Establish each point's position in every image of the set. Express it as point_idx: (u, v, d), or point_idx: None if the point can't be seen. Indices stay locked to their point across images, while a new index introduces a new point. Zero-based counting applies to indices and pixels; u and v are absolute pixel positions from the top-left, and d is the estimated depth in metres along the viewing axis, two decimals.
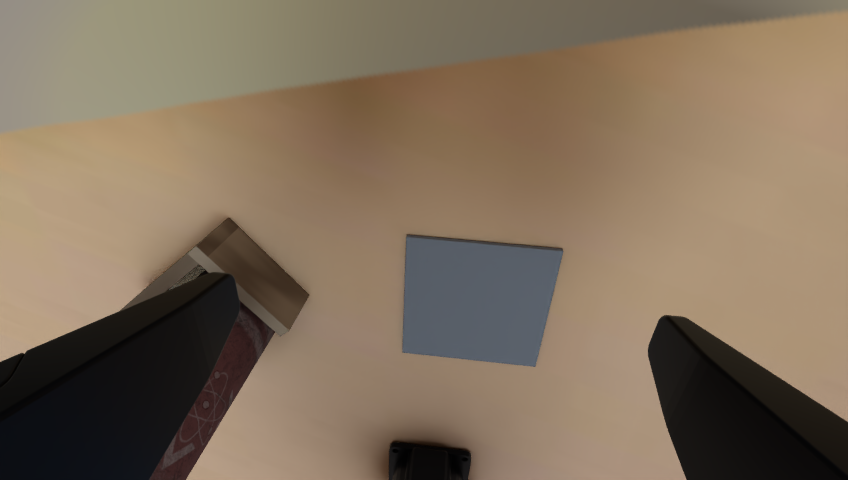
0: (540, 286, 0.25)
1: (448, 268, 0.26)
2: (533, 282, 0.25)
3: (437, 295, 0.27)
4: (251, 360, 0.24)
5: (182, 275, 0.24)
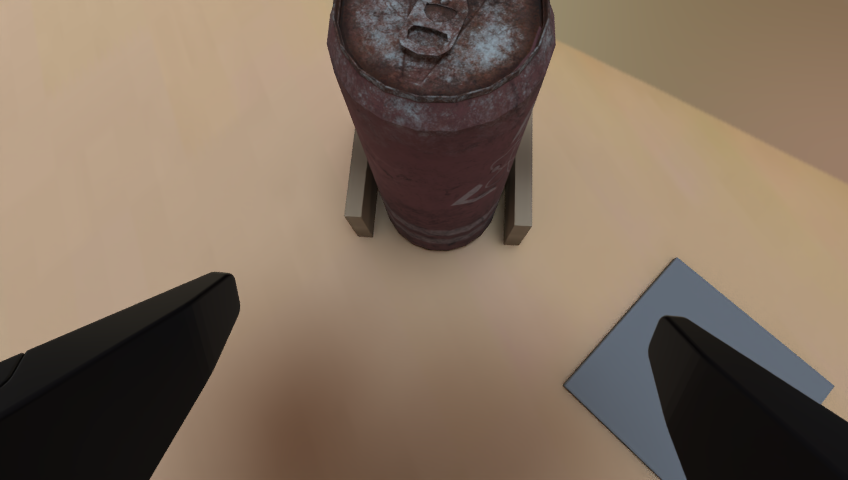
0: None
1: (697, 318, 0.21)
2: None
3: None
4: (489, 208, 0.18)
5: None
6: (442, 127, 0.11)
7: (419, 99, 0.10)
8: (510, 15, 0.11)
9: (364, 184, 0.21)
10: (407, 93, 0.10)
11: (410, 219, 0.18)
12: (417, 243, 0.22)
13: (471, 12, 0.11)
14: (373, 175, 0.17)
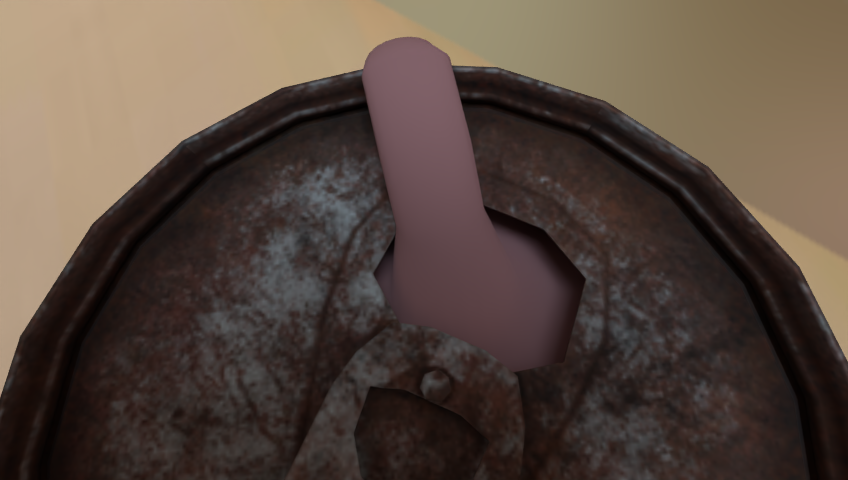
0: None
1: None
2: None
3: None
4: None
5: None
6: None
7: None
8: (691, 471, 0.03)
9: None
10: None
11: None
12: None
13: (537, 446, 0.03)
14: None
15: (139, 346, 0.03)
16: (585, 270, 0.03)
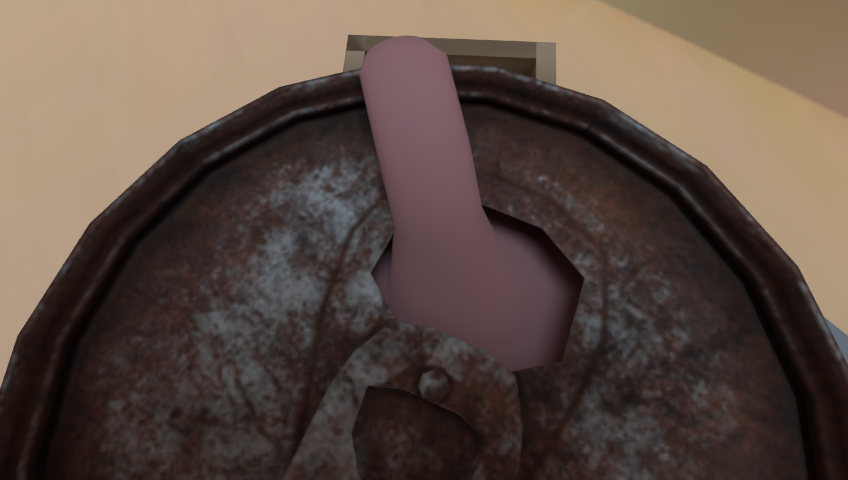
0: None
1: None
2: None
3: None
4: None
5: (501, 55, 0.18)
6: None
7: None
8: (689, 471, 0.03)
9: None
10: None
11: None
12: None
13: (535, 445, 0.03)
14: None
15: (135, 345, 0.03)
16: (584, 269, 0.03)
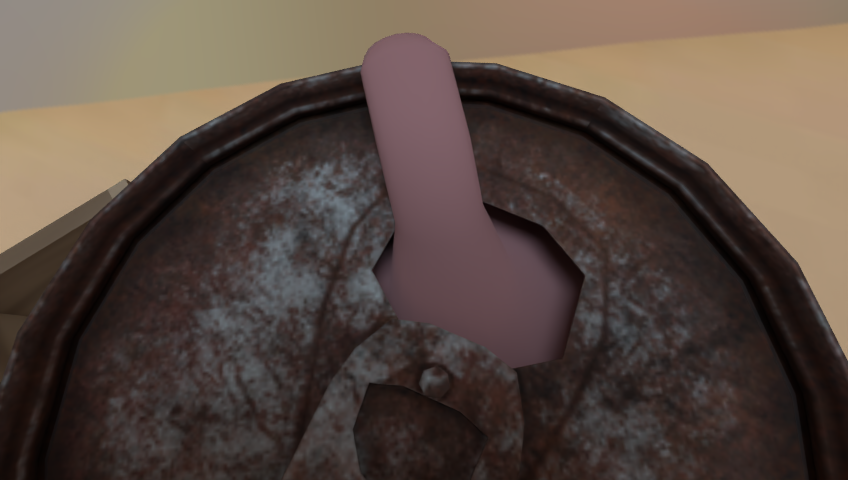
0: None
1: None
2: None
3: None
4: None
5: (82, 222, 0.17)
6: None
7: None
8: (689, 467, 0.03)
9: None
10: None
11: None
12: None
13: (536, 442, 0.03)
14: None
15: (137, 344, 0.03)
16: (585, 266, 0.03)
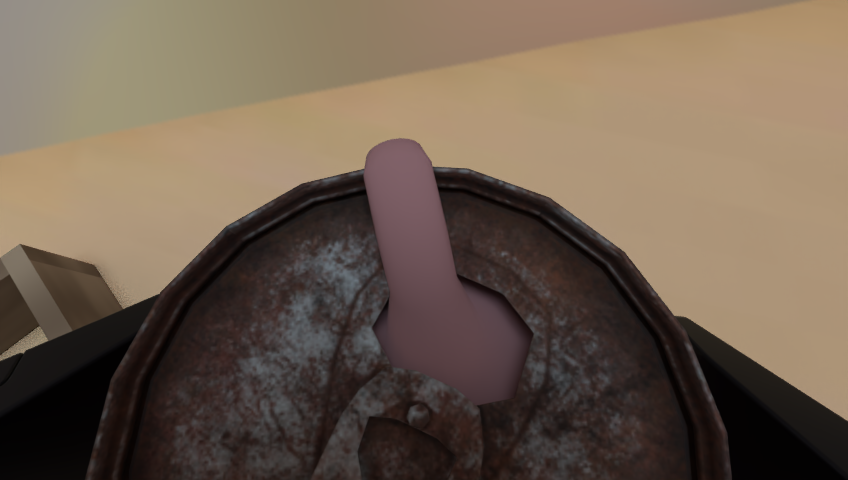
0: None
1: None
2: None
3: None
4: None
5: None
6: None
7: None
8: None
9: None
10: None
11: None
12: None
13: (492, 461, 0.04)
14: None
15: (193, 384, 0.04)
16: (533, 327, 0.04)
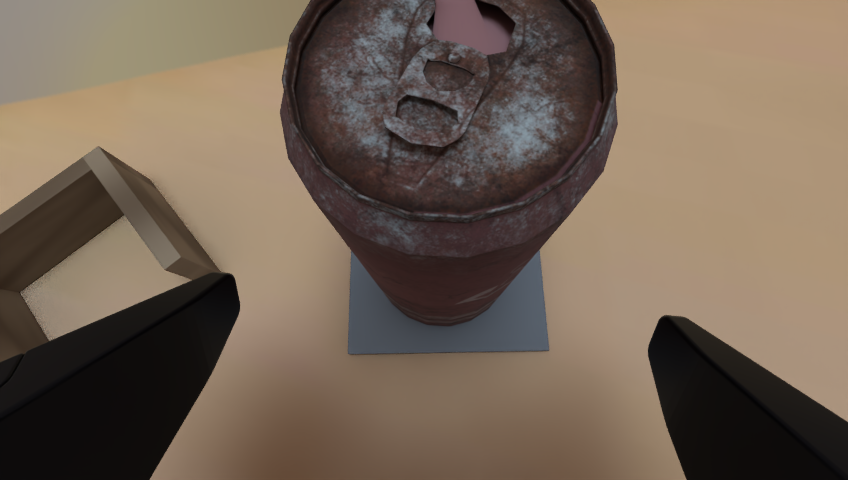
0: None
1: None
2: None
3: None
4: (502, 292, 0.15)
5: (61, 188, 0.18)
6: (446, 252, 0.07)
7: (411, 217, 0.06)
8: (553, 82, 0.07)
9: None
10: (392, 208, 0.06)
11: (402, 304, 0.15)
12: (412, 318, 0.19)
13: (494, 76, 0.07)
14: None
15: (329, 50, 0.07)
16: (516, 19, 0.08)
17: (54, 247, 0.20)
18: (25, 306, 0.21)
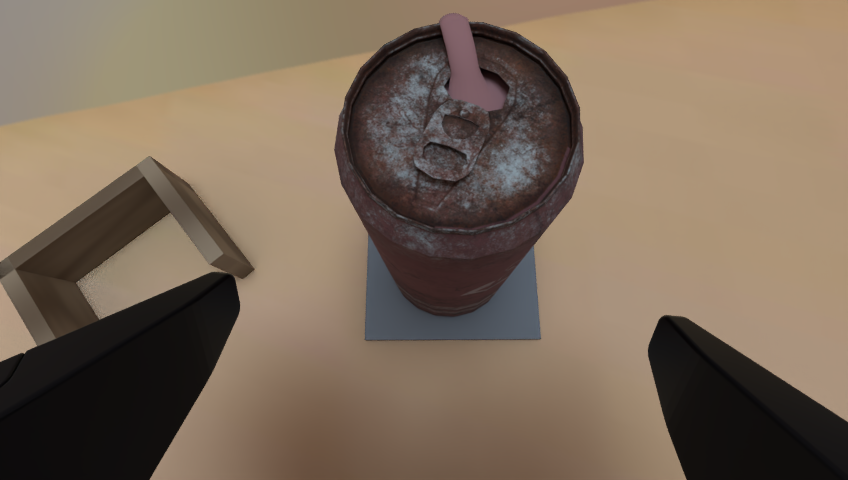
0: None
1: None
2: None
3: None
4: (499, 287, 0.17)
5: (118, 192, 0.21)
6: (457, 255, 0.10)
7: (434, 231, 0.09)
8: (536, 132, 0.10)
9: None
10: (421, 224, 0.09)
11: (415, 296, 0.18)
12: (421, 309, 0.21)
13: (493, 127, 0.10)
14: None
15: (372, 106, 0.10)
16: (510, 84, 0.10)
17: (107, 243, 0.23)
18: (81, 295, 0.23)
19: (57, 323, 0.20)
